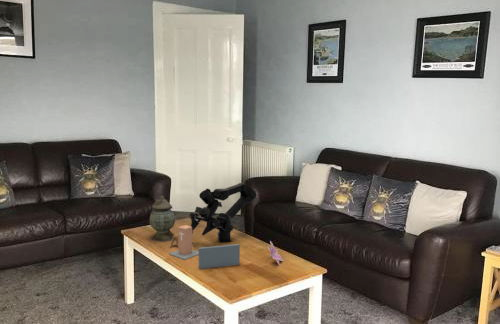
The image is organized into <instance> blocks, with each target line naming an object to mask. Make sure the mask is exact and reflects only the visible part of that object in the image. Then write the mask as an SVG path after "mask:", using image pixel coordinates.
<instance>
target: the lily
mask: <svg viewBox="0 0 500 324" xmlns="http://www.w3.org/2000/svg"><path fill="white" fill-rule="evenodd" d="M269 242H270V247H269V246H267V247H266V248H267V249H268V250H269V252H270V255H269V257H267V259H266V261H265V262H268V260H269V259H270V257H272V259H273V260H276V262H277V264H278V265H280V261H282V262H284V260H283V258H282V257H281V255H280V254H279V253H278V249H277V248H275V246H274V244H273V242H272V241H271V240H269Z"/></svg>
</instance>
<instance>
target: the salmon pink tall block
mask: <svg viewBox="0 0 500 324" xmlns="http://www.w3.org/2000/svg"><path fill="white" fill-rule="evenodd" d="M177 228H178V230H177V231H178V232H177V234H178V245H179V247H178V250H179V253H180V254H183V255H188V254H190V253H192V250H193V234H192V227H191V225H187V224H185V225H184V224H183V225H181V226H178V227H177Z"/></svg>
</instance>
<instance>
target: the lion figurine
mask: <svg viewBox="0 0 500 324" xmlns="http://www.w3.org/2000/svg"><path fill="white" fill-rule="evenodd" d="M193 233H194V230H193V231H192V235H193ZM175 242H176V243H175ZM174 243H175V244H176V246H177V247H178V248H179V245H178V233H176V234H174V236H173V238H172V240H171V242H170V244H171V245H170V248H172V247H174Z"/></svg>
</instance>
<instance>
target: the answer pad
mask: <svg viewBox="0 0 500 324" xmlns="http://www.w3.org/2000/svg"><path fill="white" fill-rule="evenodd" d="M168 255H170V256H172V257H174V258H175V257H176V258H178V259H181V260H184V261H185V260H188V259H191V258H194V257H196V256H199V250H195V249H192V253H190V254H188V255H183V254H180V253H179V249H177V250H175V251H172V252H169V253H168Z"/></svg>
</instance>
